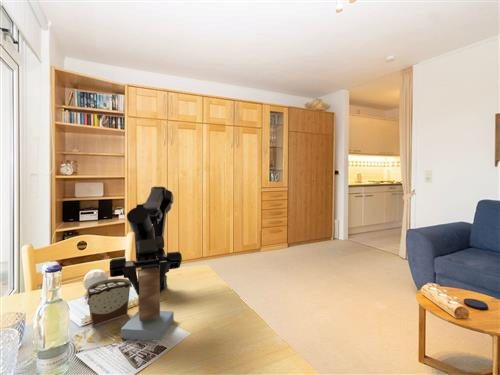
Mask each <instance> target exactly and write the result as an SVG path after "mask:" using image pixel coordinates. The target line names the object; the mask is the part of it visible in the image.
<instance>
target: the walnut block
mask: <svg viewBox="0 0 500 375" xmlns="http://www.w3.org/2000/svg"><path fill="white" fill-rule="evenodd" d="M137 279H138V284H139V295H137V300H138V306H137V308H138V311H137V312H139V320H140V321H144V320H149V319H154V318H159V317H160V311H161V308H160V307H161V294H160V293H161V292H160V273H159V270H158V268H157V267H155V268H147V269H141V268H138V269H137Z"/></svg>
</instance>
